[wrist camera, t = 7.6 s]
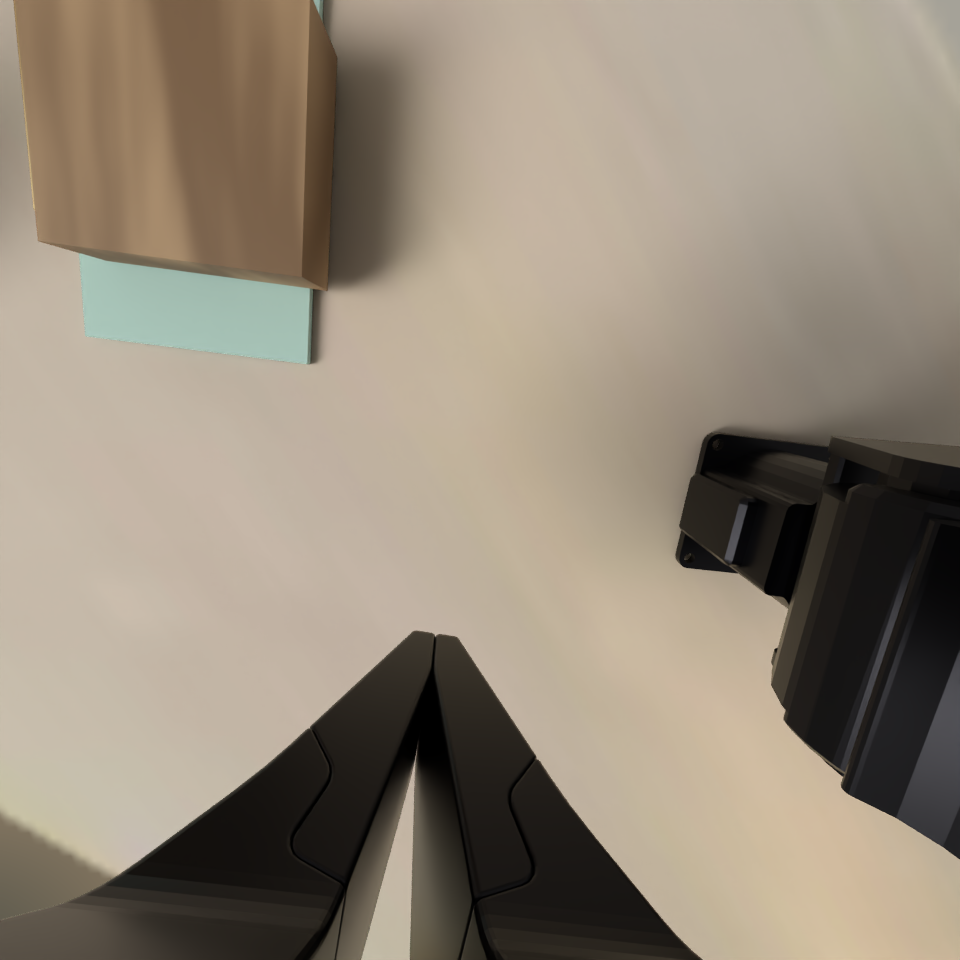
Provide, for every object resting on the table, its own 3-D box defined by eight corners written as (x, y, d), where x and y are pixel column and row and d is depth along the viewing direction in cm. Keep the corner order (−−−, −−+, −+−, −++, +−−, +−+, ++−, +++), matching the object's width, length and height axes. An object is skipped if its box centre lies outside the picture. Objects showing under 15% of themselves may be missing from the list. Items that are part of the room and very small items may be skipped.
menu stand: (310, -8, 14) (-2, -62, 13) (301, 276, 16) (28, 239, 15) (338, 59, 17) (85, 18, 16) (328, 291, 19) (101, 260, 18)
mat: (324, -36, 16) (321, -45, 16) (310, 364, 20) (307, 364, 19) (62, -82, 16) (52, -93, 16) (93, 336, 19) (85, 336, 19)
